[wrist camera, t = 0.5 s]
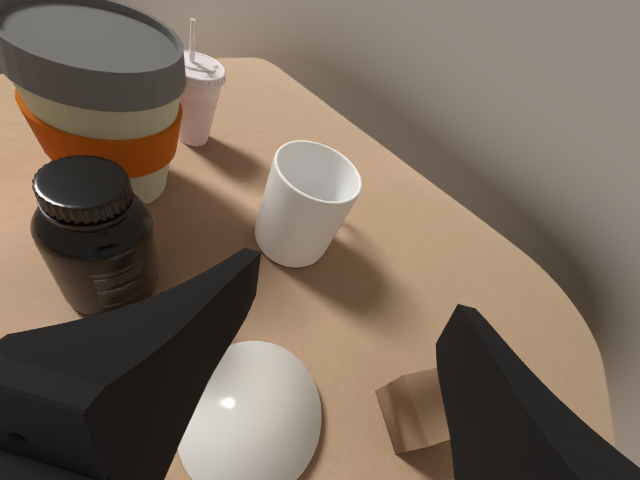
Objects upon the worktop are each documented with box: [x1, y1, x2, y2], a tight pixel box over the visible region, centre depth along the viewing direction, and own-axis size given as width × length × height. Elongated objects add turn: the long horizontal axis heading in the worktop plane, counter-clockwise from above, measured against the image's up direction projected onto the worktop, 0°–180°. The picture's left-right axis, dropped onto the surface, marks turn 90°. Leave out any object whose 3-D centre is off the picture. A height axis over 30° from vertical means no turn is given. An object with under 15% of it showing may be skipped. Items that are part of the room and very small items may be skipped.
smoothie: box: [178, 18, 226, 146], centre depth 37 cm, size 6×6×14 cm
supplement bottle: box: [30, 155, 158, 316], centre depth 23 cm, size 7×7×12 cm
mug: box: [255, 140, 362, 268], centre depth 35 cm, size 9×12×11 cm
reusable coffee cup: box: [0, 0, 186, 204], centre depth 29 cm, size 13×12×15 cm
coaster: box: [177, 341, 322, 480], centre depth 25 cm, size 11×11×1 cm
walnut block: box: [375, 368, 450, 454], centre depth 27 cm, size 5×5×5 cm
